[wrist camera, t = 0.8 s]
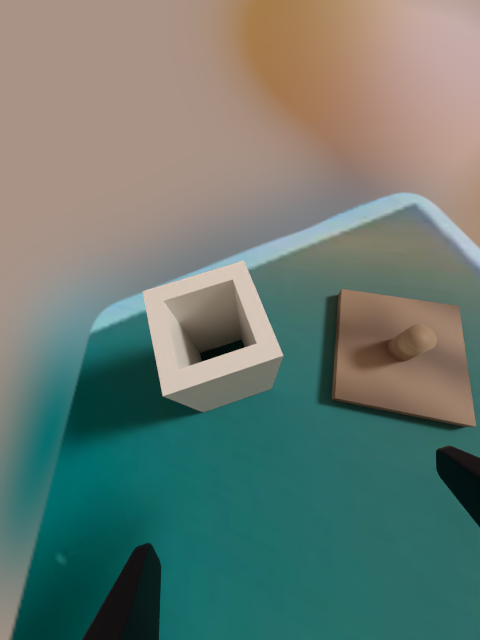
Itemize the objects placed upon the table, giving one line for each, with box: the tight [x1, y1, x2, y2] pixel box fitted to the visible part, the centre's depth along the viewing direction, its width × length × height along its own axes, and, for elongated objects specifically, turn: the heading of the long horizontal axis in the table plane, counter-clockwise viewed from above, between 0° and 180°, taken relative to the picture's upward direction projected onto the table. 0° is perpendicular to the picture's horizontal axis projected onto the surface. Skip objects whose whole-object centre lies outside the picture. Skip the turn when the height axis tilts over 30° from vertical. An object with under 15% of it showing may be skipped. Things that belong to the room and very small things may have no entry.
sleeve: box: [143, 261, 283, 412], centre depth 18 cm, size 6×6×10 cm
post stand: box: [332, 289, 476, 427], centre depth 20 cm, size 10×10×4 cm
